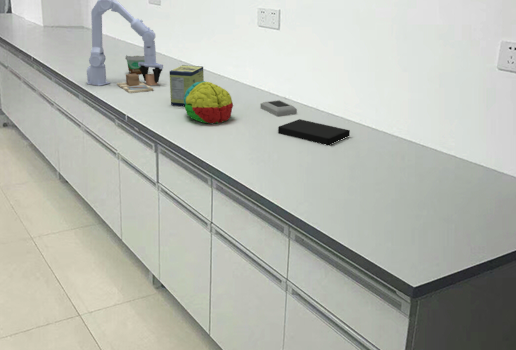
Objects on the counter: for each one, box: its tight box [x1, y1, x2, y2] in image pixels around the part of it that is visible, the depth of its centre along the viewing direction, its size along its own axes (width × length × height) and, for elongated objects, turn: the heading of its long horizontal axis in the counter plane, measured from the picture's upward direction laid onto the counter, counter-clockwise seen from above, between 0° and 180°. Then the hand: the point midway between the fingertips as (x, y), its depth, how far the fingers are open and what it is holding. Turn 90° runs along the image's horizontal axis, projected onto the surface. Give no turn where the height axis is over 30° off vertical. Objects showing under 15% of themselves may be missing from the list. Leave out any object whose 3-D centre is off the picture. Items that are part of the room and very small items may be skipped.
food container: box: [125, 54, 145, 76], centre depth 330 cm, size 12×6×10 cm, turn 105°
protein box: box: [169, 64, 205, 107], centre depth 271 cm, size 10×16×16 cm
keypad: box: [260, 99, 298, 117], centre depth 261 cm, size 10×4×15 cm
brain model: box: [184, 80, 234, 124], centre depth 248 cm, size 24×19×15 cm
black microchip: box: [277, 118, 351, 146], centre depth 229 cm, size 14×23×3 cm, turn 51°
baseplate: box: [116, 73, 154, 94], centre depth 299 cm, size 20×12×6 cm, turn 30°
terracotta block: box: [145, 73, 158, 87], centre depth 307 cm, size 4×4×5 cm
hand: (151, 81), depth 308 cm, fingers closed on terracotta block, 6 cm apart
